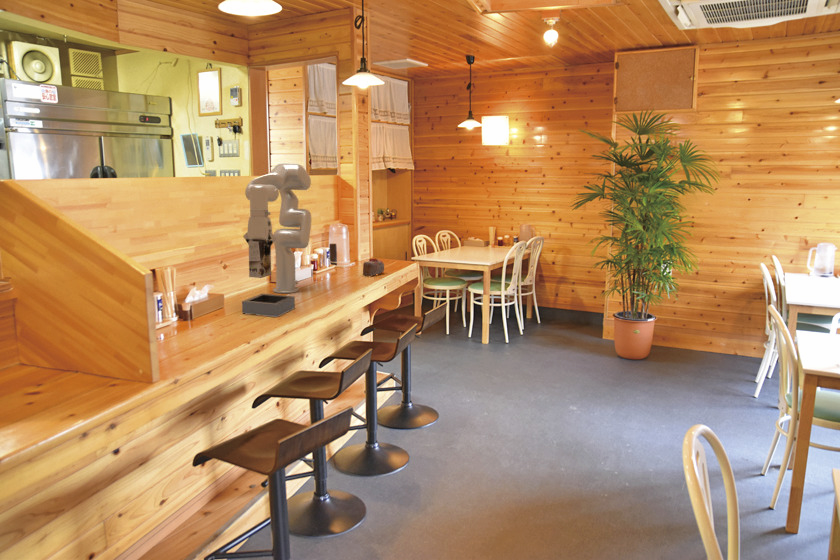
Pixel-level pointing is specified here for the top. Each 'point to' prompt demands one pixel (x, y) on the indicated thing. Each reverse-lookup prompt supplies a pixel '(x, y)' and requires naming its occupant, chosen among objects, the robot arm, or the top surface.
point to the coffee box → (259, 259)
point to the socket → (268, 305)
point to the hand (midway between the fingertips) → (260, 254)
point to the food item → (373, 267)
